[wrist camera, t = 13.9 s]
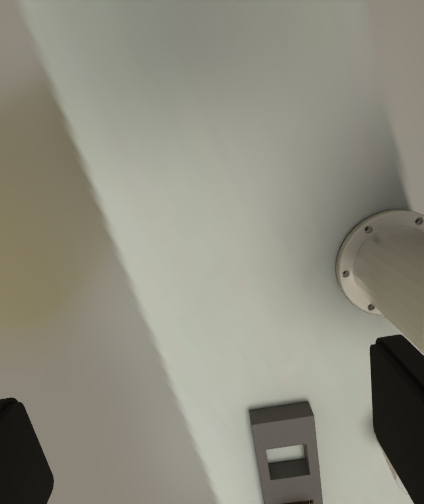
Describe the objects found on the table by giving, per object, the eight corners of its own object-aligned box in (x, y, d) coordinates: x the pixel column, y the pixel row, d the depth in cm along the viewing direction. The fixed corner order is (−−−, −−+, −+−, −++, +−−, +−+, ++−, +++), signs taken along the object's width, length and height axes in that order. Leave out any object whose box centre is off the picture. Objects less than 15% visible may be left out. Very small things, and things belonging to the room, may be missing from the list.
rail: (308, 401, 46) (314, 415, 44) (321, 528, 53) (327, 546, 51) (249, 410, 46) (251, 425, 44) (270, 535, 53) (273, 553, 51)
